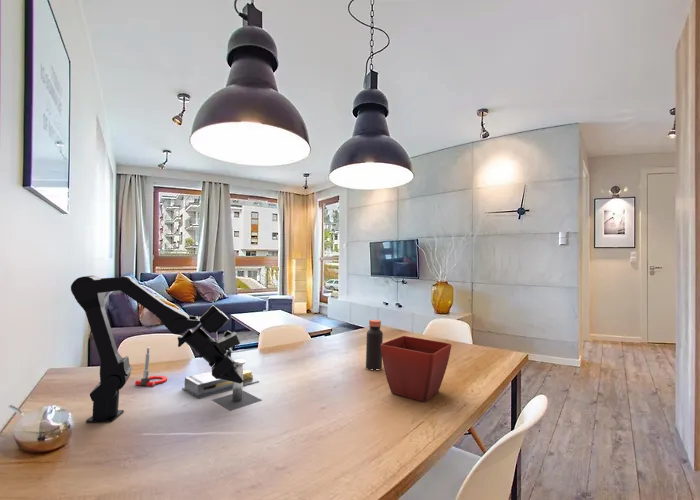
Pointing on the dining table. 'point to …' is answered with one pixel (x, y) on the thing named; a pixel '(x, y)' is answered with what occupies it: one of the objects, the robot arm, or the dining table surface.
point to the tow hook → (146, 380)
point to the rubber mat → (230, 405)
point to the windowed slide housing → (212, 384)
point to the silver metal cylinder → (237, 386)
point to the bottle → (374, 345)
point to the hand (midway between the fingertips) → (240, 377)
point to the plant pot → (415, 366)
